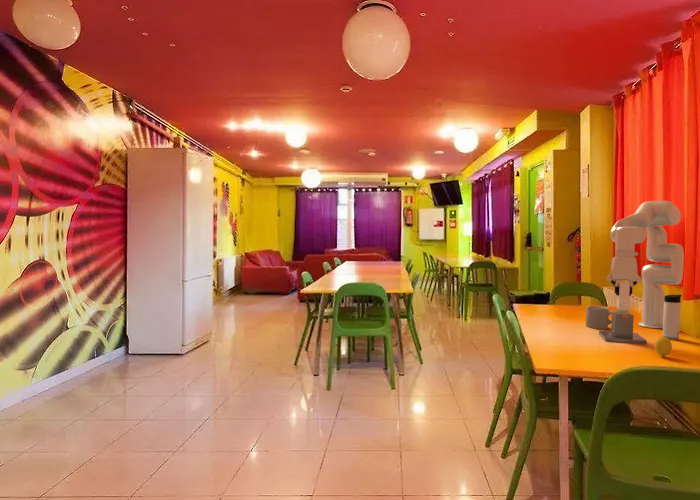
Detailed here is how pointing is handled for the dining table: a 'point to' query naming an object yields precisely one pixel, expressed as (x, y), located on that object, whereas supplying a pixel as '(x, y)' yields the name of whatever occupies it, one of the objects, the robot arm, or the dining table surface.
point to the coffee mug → (597, 317)
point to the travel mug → (671, 316)
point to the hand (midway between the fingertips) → (623, 295)
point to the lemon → (663, 346)
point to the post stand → (622, 330)
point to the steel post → (623, 298)
